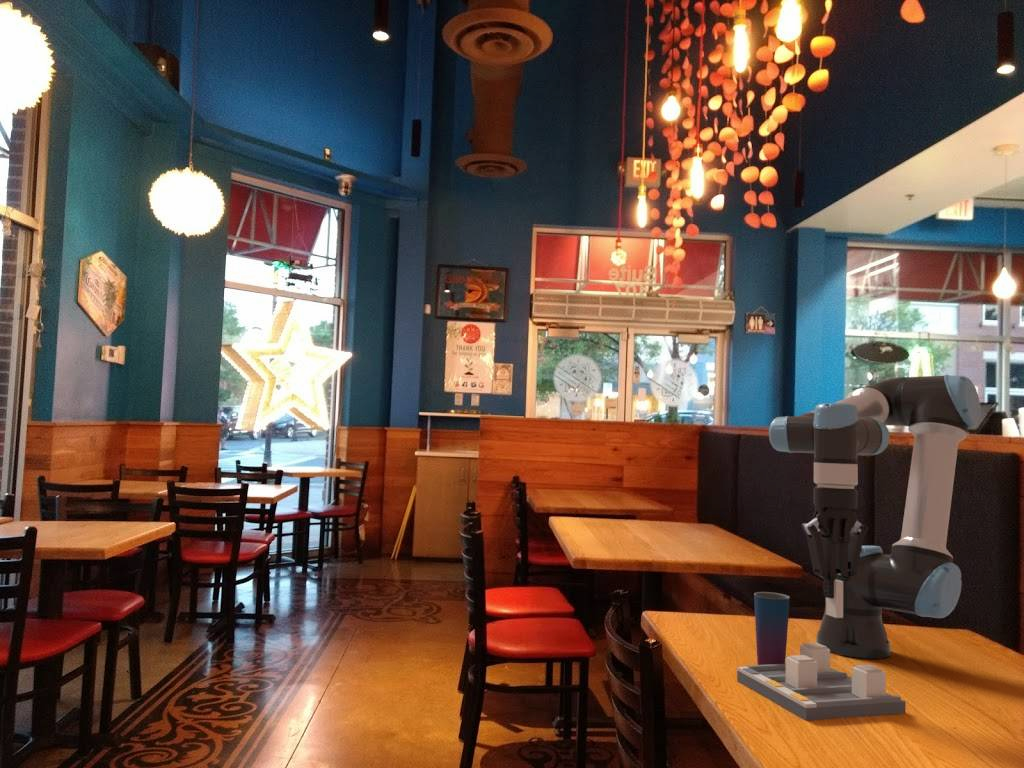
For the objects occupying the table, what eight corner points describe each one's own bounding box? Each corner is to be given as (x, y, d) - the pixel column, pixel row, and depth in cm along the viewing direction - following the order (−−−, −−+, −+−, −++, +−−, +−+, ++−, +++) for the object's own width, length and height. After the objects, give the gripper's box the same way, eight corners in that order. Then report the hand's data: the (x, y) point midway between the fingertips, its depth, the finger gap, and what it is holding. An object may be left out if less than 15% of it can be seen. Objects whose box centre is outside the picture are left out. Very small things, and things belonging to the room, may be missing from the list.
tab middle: (804, 681, 135) (804, 654, 135) (817, 688, 131) (817, 659, 132) (785, 682, 134) (785, 655, 134) (797, 689, 130) (798, 660, 131)
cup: (791, 679, 143) (792, 600, 144) (754, 675, 144) (755, 597, 145) (786, 668, 149) (787, 593, 150) (751, 665, 151) (752, 590, 152)
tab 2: (870, 692, 130) (870, 663, 131) (885, 699, 127) (885, 669, 127) (851, 693, 129) (851, 664, 130) (866, 700, 126) (866, 671, 126)
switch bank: (826, 676, 146) (826, 661, 146) (905, 713, 126) (905, 696, 127) (737, 681, 140) (737, 665, 140) (806, 720, 121) (806, 703, 121)
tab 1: (817, 667, 144) (817, 642, 144) (829, 673, 140) (830, 647, 141) (799, 668, 143) (800, 642, 143) (811, 674, 139) (812, 648, 140)
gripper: (850, 485, 142) (850, 610, 140) (792, 484, 139) (790, 611, 137) (879, 488, 135) (879, 620, 133) (818, 487, 131) (817, 622, 130)
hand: (834, 615), depth 135 cm, fingers closed
